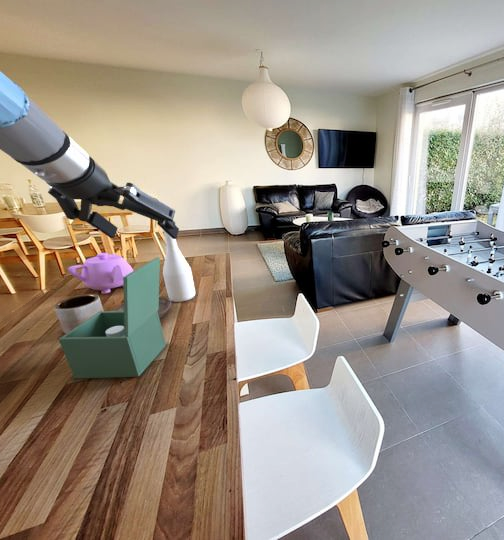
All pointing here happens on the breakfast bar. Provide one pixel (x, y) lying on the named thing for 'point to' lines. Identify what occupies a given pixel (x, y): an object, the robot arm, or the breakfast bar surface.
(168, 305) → the plant saucer
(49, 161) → the robot arm
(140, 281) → the lid
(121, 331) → the supplement bottle
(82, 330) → the green open box
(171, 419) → the breakfast bar surface
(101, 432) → the breakfast bar surface
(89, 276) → the teapot
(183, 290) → the wine bottle
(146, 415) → the breakfast bar surface
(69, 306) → the planter
